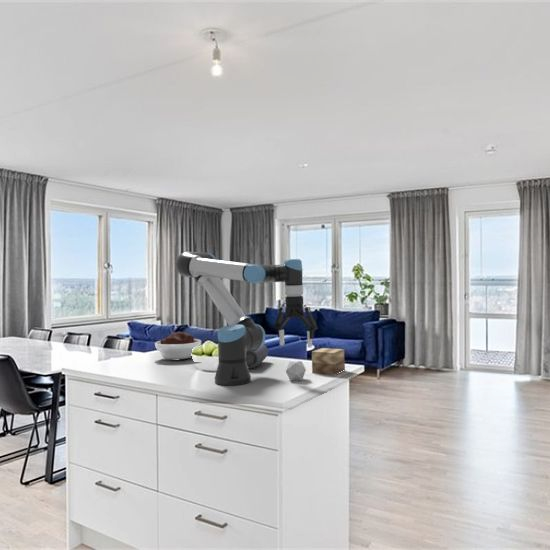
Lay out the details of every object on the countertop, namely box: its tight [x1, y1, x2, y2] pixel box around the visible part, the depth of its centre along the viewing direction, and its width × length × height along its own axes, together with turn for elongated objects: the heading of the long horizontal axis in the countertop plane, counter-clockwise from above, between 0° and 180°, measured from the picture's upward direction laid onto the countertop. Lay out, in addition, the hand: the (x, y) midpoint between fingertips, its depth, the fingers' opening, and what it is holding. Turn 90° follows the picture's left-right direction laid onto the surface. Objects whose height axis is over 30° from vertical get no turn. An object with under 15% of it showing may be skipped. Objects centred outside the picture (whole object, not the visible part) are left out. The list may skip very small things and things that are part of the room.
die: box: [285, 360, 307, 382], centre depth 206 cm, size 8×9×10 cm
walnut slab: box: [311, 359, 346, 376], centre depth 221 cm, size 11×11×5 cm
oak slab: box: [311, 347, 345, 364], centre depth 221 cm, size 11×11×5 cm
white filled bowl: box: [154, 331, 202, 360], centre depth 266 cm, size 25×25×15 cm
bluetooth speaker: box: [246, 343, 269, 369], centre depth 240 cm, size 23×9×10 cm, turn 168°
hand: (295, 346), depth 206 cm, fingers open, 13 cm apart
